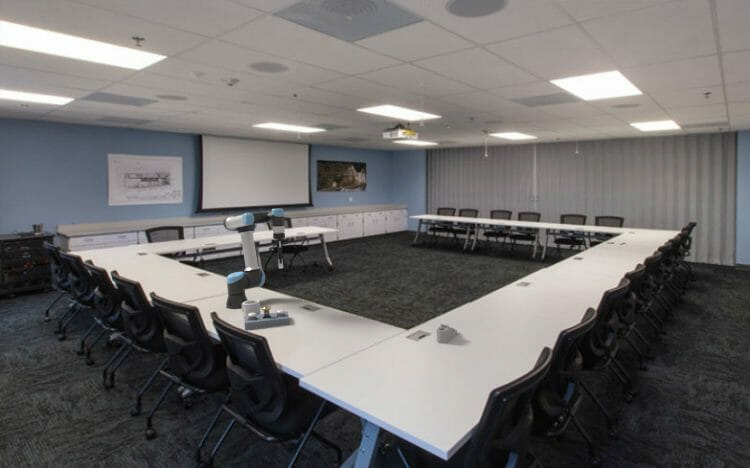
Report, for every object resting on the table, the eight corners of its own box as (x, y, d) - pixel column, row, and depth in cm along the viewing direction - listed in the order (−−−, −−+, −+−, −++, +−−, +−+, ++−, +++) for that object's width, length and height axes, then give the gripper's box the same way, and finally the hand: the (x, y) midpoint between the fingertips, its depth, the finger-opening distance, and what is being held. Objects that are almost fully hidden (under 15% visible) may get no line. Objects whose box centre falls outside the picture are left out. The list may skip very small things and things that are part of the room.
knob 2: (276, 319, 259) (276, 310, 259) (285, 318, 261) (284, 309, 260) (277, 322, 255) (276, 312, 254) (285, 321, 256) (285, 311, 255)
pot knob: (262, 316, 257) (261, 306, 256) (270, 315, 258) (270, 305, 257) (262, 318, 252) (262, 308, 251) (271, 317, 253) (270, 307, 252)
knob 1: (248, 322, 255) (247, 313, 254) (257, 321, 256) (256, 312, 255) (248, 325, 250) (247, 315, 249) (257, 324, 251) (256, 314, 250)
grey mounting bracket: (458, 333, 230) (458, 319, 229) (444, 344, 216) (444, 329, 215) (448, 331, 234) (448, 318, 233) (434, 342, 219) (434, 327, 218)
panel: (245, 322, 258) (245, 316, 258) (287, 317, 266) (287, 311, 265) (245, 329, 245) (244, 323, 245) (289, 324, 252) (289, 318, 252)
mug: (264, 315, 272) (263, 300, 271) (252, 320, 262) (252, 304, 261) (248, 312, 277) (247, 298, 276) (236, 317, 268) (235, 302, 267)
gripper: (272, 231, 273) (274, 266, 276) (273, 234, 261) (275, 270, 264) (284, 231, 275) (285, 265, 278) (285, 233, 263) (287, 269, 266)
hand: (280, 268), depth 271 cm, fingers closed
